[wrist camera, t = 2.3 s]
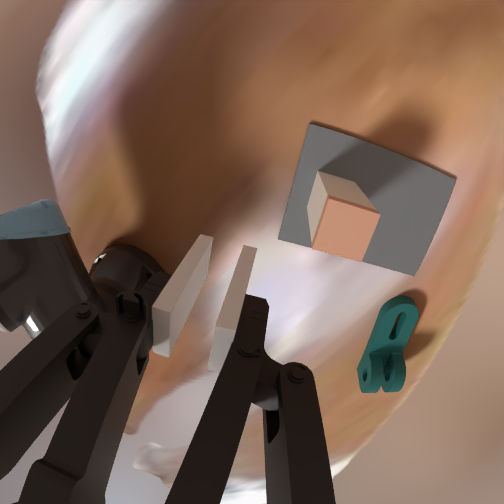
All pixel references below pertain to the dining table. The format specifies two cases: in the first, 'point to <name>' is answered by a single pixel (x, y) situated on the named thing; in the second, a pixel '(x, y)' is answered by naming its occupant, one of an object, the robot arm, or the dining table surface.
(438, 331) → the dining table surface
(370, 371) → the bracket
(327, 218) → the cream block
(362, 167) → the slate mat
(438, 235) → the dining table surface
